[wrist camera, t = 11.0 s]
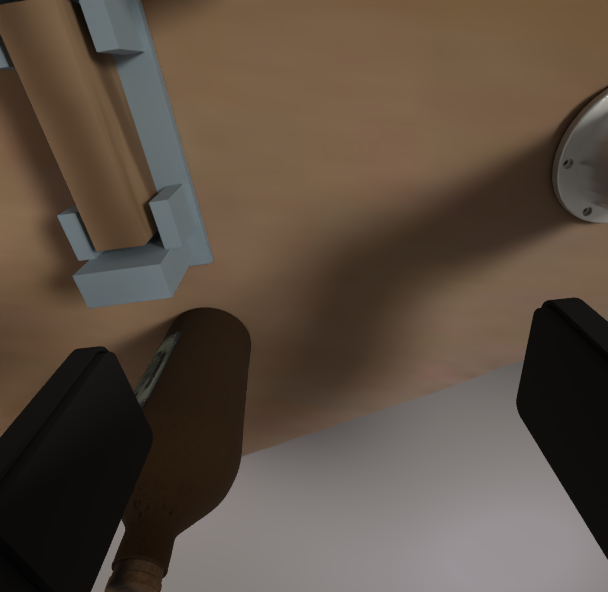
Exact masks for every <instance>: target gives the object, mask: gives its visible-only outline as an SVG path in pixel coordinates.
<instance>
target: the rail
mask: <svg viewBox="0 0 608 592" xmlns="http://www.w3.org/2000/svg"><path fill="white" fill-rule="evenodd" d="M0 34H1V37H2V39H3V41H4V43H5V46H6V48H7V50H8V53H9V55H10V57H11V59H12V62H13V64H14V66H15V68H16V71H17V73H18V75H19V77H20V80H21V82H22V84H23V86H24V89H25V91H26V93H27V95H28V98H29V100H30V102H31V105H32V107H33V109H34V111H35V114H36V116H37V118H38V120H39V123H40V125H41V127H42V129H43V132H44V134H45V136H46V138H47V141H48V143H49V145H50V148H51V150H52V152H53V154H54V157H55V159H56V161H57V163H58V166H59V168H60V170H61V172H62V175H63V177H64V179H65V181H66V184H67V186H68V188H69V190H70V193H71V195H72V197H73V200H74V202H75V204H76V206H77V209H78V211H79V213H80V215H81V218H82V220H83V222H84V224H85V227H86V229H87V231H88V233H89V236H90V238H91V240H92V243H93V245H94V247H95V249H96V252H98V251H105V250H113V249H120V248H128V247H135V246H143V245H145V244H146V243H147V242H148V241H149V240H150V239H151V237H152V236H153V235H154V234H155V233H156V232H157V230H158V227H157V225H156V222H155V219H154V216H153V213H152V210H151V207H150V204H149V202H150V201H151V200H152V199H153V198H154V197H155V196H156V195H158V193H157V190H156V187H155V184H154V181H153V178H152V175H151V172H150V168H149V165H148V162H147V159H146V156H145V153H144V150H143V147H142V144H141V141H140V138H139V135H138V132H137V129H136V126H135V123H134V119H133V116H132V113H131V110H130V107H129V104H128V101H127V98H126V95H125V92H124V89H123V86H122V83H121V80H120V77H119V74H118V70H117V67H116V64H115V61H114V58H113V55H112V54H110V53H99V52H97V51H96V48H95V46H94V43H93V40H92V37H91V34H90V31H89V28H88V25H87V22H86V20H85V17H84V14H83V11H82V8H81V5H80V4H78V3H74V2H71V1H68V0H25V1H19V2H13V3H7V4H1V5H0Z"/></svg>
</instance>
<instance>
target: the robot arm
mask: <svg viewBox="0 0 608 592" xmlns="http://www.w3.org/2000/svg"><path fill="white" fill-rule="evenodd" d="M552 182H553V188H554V192H555V194H556V197H557V199H558V201H559V202H560V204H561V205H562V206H563V207H564V209H566V210H567V211H568V212H570V213H571V214H573V215H574V216H576V217H578V218H580V219H582V220H585V221H589V222H593V223H608V88H607V89H606V90H604V91H603V92H602V93H600V94H599V95H598V96H596V97H595V98H594V99H593V100H592V101H591V102H590V103H588V104H587V105H586V106H585V107H584V108H583V109H582V110H581V111H580V113H579V114H578V115H577V116H576V118H575V119H574V120H573V121H572V123H571V124H570V125H569V127H568V129H567V130H566V132H565V134H564V136H563V137H562V139H561V142H560V144H559V146H558V149H557V151H556V154H555V159H554V163H553V170H552ZM516 404H517V410H518V413H519V415H520V417H521V419H522V420H523V422H524V423H525V425H526V427H527V428H528V430H529V432H530V433H531V435H532V436H533V438H534V439H535V441H536V443H537V444H538V446H539V448H540V450H541V451H542V453H543V455H544V456H545V458H546V459H547V461H548V463H549V464H550V466H551V468H552V469H553V471H554V472H555V474H556V476H557V477H558V479H559V481H560V482H561V484H562V486H563V487H564V489H565V490H566V492H567V494H568V495H569V497H570V499H571V500H572V502H573V504H574V505H575V507H576V508H577V510H578V512H579V513H580V515H581V516H582V518H583V520H584V521H585V523H586V525H587V526H588V528H589V530H590V531H591V533H592V534H593V536H594V538H595V540H596V541H597V543H598V544H599V546H600V548H601V549H602V551H603V553H604V554H605V556H606V558H607V559H608V321H606V320H605V319H604V318H603V317H602V316H600V315H599V314H598V313H597V312H596V311H594V310H593V309H592V308H591V307H590V306H589V305H587V304H586V303H585V302H584V301H583V300H581V299H579V298H566V299H556V300H548V301H545V302H544V303H543V305H542V307H541V308H538V309H536V310H535V312H534V315H533V320H532V324H531V329H530V334H529V339H528V344H527V349H526V354H525V359H524V364H523V369H522V374H521V379H520V384H519V389H518V394H517V399H516ZM152 443H153V432H152V429H151V427H150V425H149V423H148V421H147V419H146V417H145V415H144V413H143V411H142V409H141V407H140V405H139V402H138V400H137V398H136V396H135V394H134V392H133V390H132V388H131V386H130V384H129V382H128V380H127V378H126V376H125V374H124V371H123V369H122V367H121V365H120V363H119V361H118V359H117V357H116V355H115V354H114V353H113V352H109V351H108V350H107V349H106V348H105V347H101V346H99V347H90V348H80V349H76V350H74V351H73V352H72V353H71V354H70V355H69V356H68V357H67V359H66V360H65V361H64V362H63V363H62V365H61V366H60V367H59V368H58V369H57V371H56V372H55V373H54V374H53V375H52V376H51V378H50V379H49V380H48V381H47V382H46V384H45V385H44V386H43V387H42V388H41V390H40V391H39V392H38V393H37V394H36V396H35V397H34V398H33V399H32V400H31V401H30V403H29V404H28V405H27V406H26V407H25V409H24V410H23V411H22V412H21V413H20V415H19V416H18V417H17V418H16V419H15V420H14V422H13V423H12V424H11V425H10V426H9V428H8V429H7V430H6V431H5V432H4V434H3V435H2V436H1V437H0V592H91V590H92V588H93V585H94V583H95V580H96V578H97V576H98V573H99V571H100V569H101V566H102V564H103V561H104V559H105V556H106V554H107V552H108V549H109V547H110V544H111V542H112V540H113V537H114V535H115V533H116V530H117V528H118V525H119V523H120V521H121V518H122V516H123V514H124V511H125V509H126V506H127V504H128V502H129V499H130V497H131V494H132V492H133V490H134V487H135V485H136V482H137V480H138V478H139V475H140V473H141V471H142V468H143V466H144V463H145V461H146V459H147V456H148V454H149V451H150V449H151V446H152Z"/></svg>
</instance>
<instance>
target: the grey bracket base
mask: <svg viewBox="0 0 608 592" xmlns="http://www.w3.org/2000/svg"><path fill="white" fill-rule="evenodd" d="M19 1H25V0H0V5H1V4H7V3H13V2H19ZM68 1H71V2H74V3H78V4H80V5H81V8H82V11H83V14H84V17H85V20H86V22H87V25H88V28H89V31H90V34H91V37H92V40H93V43H94V46H95V48H96V51H97V52H99V53H110V54H112V55H113V58H114V61H115V64H116V67H117V70H118V74H119V77H120V80H121V83H122V86H123V89H124V92H125V95H126V98H127V101H128V104H129V107H130V110H131V113H132V116H133V119H134V123H135V126H136V129H137V132H138V135H139V138H140V141H141V144H142V147H143V150H144V153H145V156H146V159H147V162H148V165H149V168H150V172H151V175H152V178H153V181H154V184H155V187H156V190H157V193H158V195H156V196H155V197H154V198H153V199H152V200H151V201H150V202H149V204H150V207H151V210H152V213H153V216H154V219H155V222H156V225H157V227H158V230H157V232H156V233H155V234H154V235H153V236H152V237H151V239H150V240H149V241H148V242H147V243H146V244H145V245H143V246H135V247H128V248H120V249H113V250H105V251H98V252H96V249H95V247H94V245H93V243H92V240H91V238H90V236H89V233H88V231H87V229H86V227H85V224H84V222H83V220H82V218H81V215H80V213H79V211H78V209H77V206H76V204H75V205H73V206H72V207H70V208H68V209H67V210H65V211H63V212H62V213H60V214H58V215H57V217H58V219H59V221H60V223H61V225H62V227H63V230H64V232H65V234H66V236H67V238H68V240H69V242H70V244H71V246H72V248H73V250H74V253H75V255H76V257H77V259H78V261H82V260H89V259H90V260H89V261H88V262H87V263H86V264H84V265H83V266H82V267H81V268H80V269H79V270H78V271H77V272H76V273H75V274H74V275H73V278H74V280H75V282H76V284H77V286H78V288H79V290H80V293H81V295H82V297H83V299H84V301H85V303H86V305H87V307H88V308H94V307H102V306H110V305H117V304H125V303H133V302H141V301H148V300H156V299H164V298H171V297H173V295H174V293H175V291H176V289H177V287H178V285H179V284H180V282H181V280H182V278H183V276H184V274H185V272H186V271H187V269H188V267H189V266H194V265H202V264H209V263H212V262H213V259H214V258H213V255H212V251H211V248H210V244H209V240H208V237H207V233H206V230H205V226H204V223H203V219H202V215H201V212H200V208H199V205H198V201H197V198H196V194H195V190H194V187H193V183H192V180H191V176H190V173H189V169H188V165H187V162H186V158H185V155H184V151H183V148H182V144H181V140H180V137H179V133H178V130H177V126H176V123H175V119H174V115H173V112H172V108H171V105H170V101H169V98H168V94H167V91H166V87H165V83H164V80H163V76H162V73H161V69H160V66H159V62H158V58H157V55H156V51H155V48H154V44H153V41H152V37H151V33H150V30H149V26H148V23H147V19H146V16H145V12H144V8H143V5H142V1H141V0H68ZM0 70H16V68H15V66H14V64H13V62H12V59H11V57H10V55H9V53H8V50H7V48H6V46H5V43H4V41H3V39H2V37H1V34H0Z"/></svg>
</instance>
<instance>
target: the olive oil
mask: <svg viewBox="0 0 608 592" xmlns="http://www.w3.org/2000/svg"><path fill="white" fill-rule="evenodd" d="M250 351H251V340H250V335H249V333H248V331H247V329H246V327H245V326H244V325H243V323H242V322H241V321H240V320H238V319H237V318H236V317H235V316H233V315H231V314H229V313H227V312H225V311H222V310H219V309H214V308H197V309H193V310H190V311H187V312H185V313H183V314H182V315H180V316H179V317H178V318H177V319H176V320H175V321H174V322H173V324H172V325H171V327H170V329H169V331H168V332H167V334H166V336H165V338H164V340H163V342H162V343H161V345H160V347H159V349H158V351H157V352H156V354H155V356H154V358H153V359H152V361H151V363H150V365H149V366H148V368H147V370H146V372H145V373H144V375H143V377H142V379H141V380H140V382H139V384H138V386H137V387H136V389H135V391H134V394H135V396H136V398H137V400H138V402H139V405H140V407H141V409H142V411H143V413H144V415H145V417H146V419H147V421H148V423H149V425H150V427H151V429H152V432H153V443H152V446H151V449H150V451H149V454H148V456H147V459H146V461H145V463H144V466H143V468H142V471H141V473H140V475H139V478H138V480H137V482H136V485H135V487H134V490H133V492H132V494H131V497H130V499H129V502H128V504H127V506H126V509H125V511H124V514H123V516H122V518H121V519H122V521H123V523H124V526H125V533H124V536H123V538H122V540H121V543H120V545H119V548H118V550H117V553H116V556H115V559H114V561H113V563H112V570H113V573H112V576H111V577H110V578H109V580H108V583H107V585H106V588H105V592H160V591H161V587H162V584H161V582H162V578H164V577H165V576H166V574H167V572H168V566H169V563H170V558H171V554H172V549H173V545H174V540H175V538H176V537H177V536H178V535H179V534H180V533H182V532H183V531H184V530H186V529H187V528H189V527H190V526H191V525H193V524H194V523H196V522H197V521H198V520H200V519H201V518H203V517H204V516H206V515H207V514H208V513H210V512H211V511H212V510H213V509H215V508H216V507H217V506H218V505H219V504H220V503H221V501H222V500H223V499H224V498H225V497H226V495H227V493H228V491H229V490H230V488H231V486H232V484H233V482H234V480H235V477H236V475H237V473H238V469H239V465H240V461H241V453H242V440H243V426H244V413H245V401H246V389H247V378H248V368H249V360H250Z"/></svg>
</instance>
